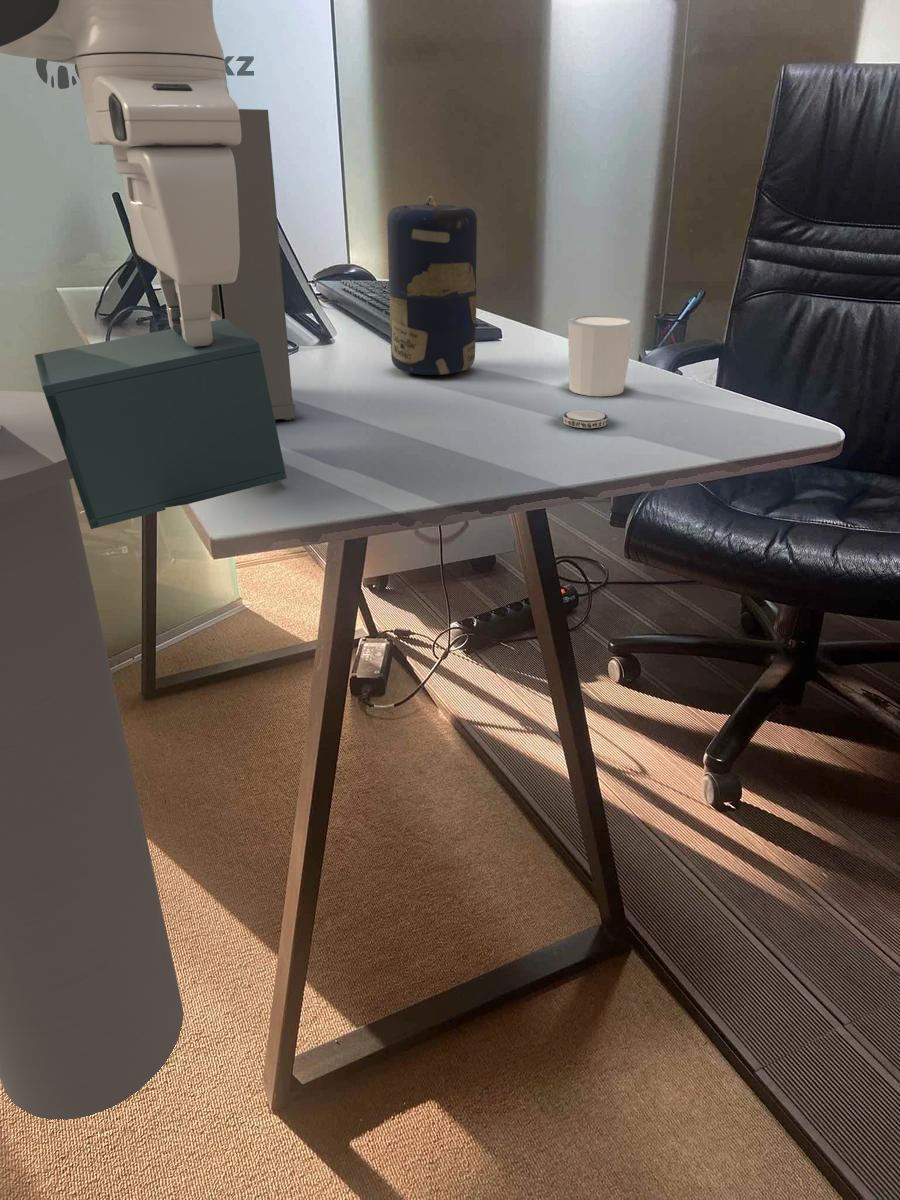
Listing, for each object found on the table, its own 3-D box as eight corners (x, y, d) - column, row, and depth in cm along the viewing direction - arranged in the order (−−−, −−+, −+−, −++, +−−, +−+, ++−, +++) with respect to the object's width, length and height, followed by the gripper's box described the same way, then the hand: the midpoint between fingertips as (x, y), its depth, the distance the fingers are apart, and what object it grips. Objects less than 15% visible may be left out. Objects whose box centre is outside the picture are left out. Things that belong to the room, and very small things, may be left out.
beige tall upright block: (198, 393, 88) (160, 113, 76) (256, 386, 90) (228, 114, 79) (229, 428, 77) (191, 108, 65) (295, 420, 79) (269, 109, 68)
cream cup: (588, 378, 94) (593, 312, 91) (641, 389, 90) (649, 320, 87) (550, 389, 90) (554, 320, 86) (604, 401, 86) (611, 329, 82)
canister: (474, 361, 101) (478, 193, 93) (475, 380, 93) (479, 198, 84) (394, 360, 101) (390, 192, 93) (387, 379, 93) (382, 197, 85)
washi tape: (615, 425, 78) (616, 418, 78) (578, 430, 76) (578, 423, 76) (591, 414, 81) (591, 407, 81) (554, 418, 80) (555, 412, 79)
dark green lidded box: (91, 529, 59) (23, 332, 52) (78, 483, 66) (17, 307, 60) (287, 478, 63) (248, 291, 56) (253, 441, 71) (215, 273, 64)
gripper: (91, 119, 61) (126, 318, 68) (128, 106, 45) (169, 371, 52) (180, 119, 64) (206, 312, 70) (247, 108, 47) (272, 361, 54)
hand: (191, 338), depth 61 cm, fingers closed on dark green lidded box, 4 cm apart
